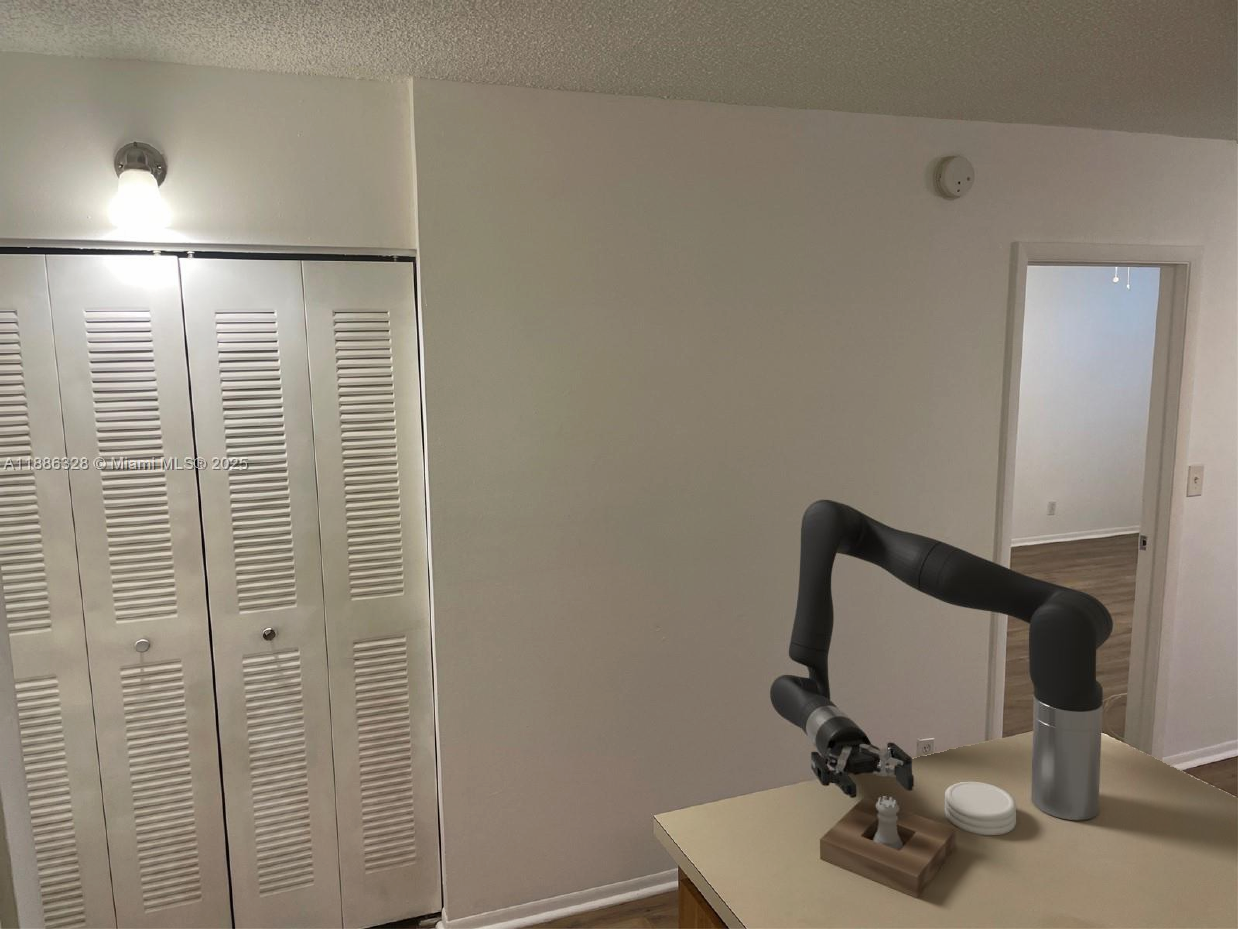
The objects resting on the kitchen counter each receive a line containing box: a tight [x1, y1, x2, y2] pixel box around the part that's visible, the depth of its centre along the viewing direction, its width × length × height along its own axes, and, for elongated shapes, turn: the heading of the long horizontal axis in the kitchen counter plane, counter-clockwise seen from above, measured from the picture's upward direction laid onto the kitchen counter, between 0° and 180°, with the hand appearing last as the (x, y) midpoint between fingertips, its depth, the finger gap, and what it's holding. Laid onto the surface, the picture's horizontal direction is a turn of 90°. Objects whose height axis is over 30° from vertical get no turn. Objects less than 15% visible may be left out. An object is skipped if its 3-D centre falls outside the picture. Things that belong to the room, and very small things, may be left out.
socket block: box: [819, 796, 957, 899], centre depth 119 cm, size 14×14×3 cm
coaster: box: [944, 781, 1017, 836], centre depth 127 cm, size 10×10×4 cm
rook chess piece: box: [872, 795, 903, 851], centre depth 119 cm, size 4×4×8 cm
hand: (882, 788), depth 120 cm, fingers open, 8 cm apart
